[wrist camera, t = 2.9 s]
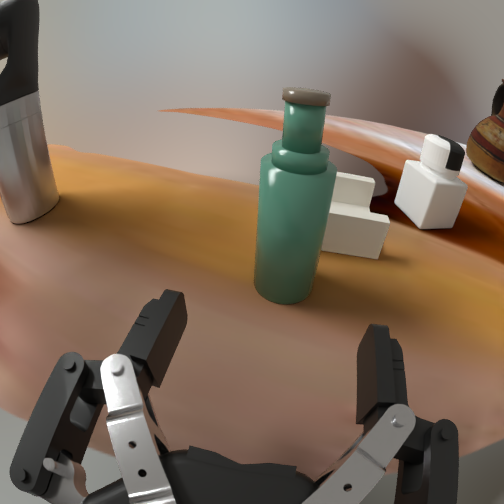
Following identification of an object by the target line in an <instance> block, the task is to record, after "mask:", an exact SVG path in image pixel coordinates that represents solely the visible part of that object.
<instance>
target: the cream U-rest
mask: <svg viewBox="0 0 504 504" xmlns="http://www.w3.org/2000/svg"><path fill="white" fill-rule="evenodd" d="M374 186H375V182H374V179H373V178H367V177H363V176H358V175H352V174H347V173H341V172H337V175H336V180H335V186H334V191H333V196H332V201H331V206H330V211H329V216H328V221H327V226H326V230H325V235H324V240H323V244H322V249H321V250H322V251H328V252H334V253H341V254H347V255H353V256H359V257H366V258H372V259H378V257H379V255H380V252H381V249H382V246H383V243H384V240H385V238H386V235H387V232H388V229H389V226H390V221H389V219H388V216H386V215H381V214H376V213H371V212H370V209H369V205H370V202H371V198H372V194H373V190H374Z"/></svg>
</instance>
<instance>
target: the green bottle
mask: <svg viewBox="0 0 504 504" xmlns="http://www.w3.org/2000/svg"><path fill="white" fill-rule="evenodd" d="M330 98H331V94H330V93H327V92H323V91H319V90H313V89H306V88H295V87H294V88H293V87H286V88H283V95H282V99H283V100H285V111H284V123H283V136H282V140H278V141H275V142H274V143H273V145H272V153H270V154H267V155H265V156H264V157H263V158H262V159H261V169H260V186H259V203H258V219H257V236H256V253H255V269H254V286H255V288H256V290H257V292H258V293H259V294H260V295H261V296H262V297H264V298H265V299H267V300H269V301H271V302H274V303H278V304H294V303H297V302H300V301H302V300H304V299H305V298H307V297H308V295H309V294H310V293H311V290H312V287H313V282H314V278H315V274H316V270H317V266H318V262H319V257H320V253H321V249H322V244H323V240H324V235H325V230H326V226H327V221H328V216H329V211H330V206H331V201H332V196H333V191H334V186H335V180H336V175H337V168H336V166H335V165H334V164H332V163H331V162H330V161H328V159H329V153H330V152H329V150H328V148H326V147H325V146H323V145H321V144H322V137H323V129H324V122H325V112H326V106H329V105H330Z"/></svg>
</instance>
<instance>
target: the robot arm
mask: <svg viewBox="0 0 504 504" xmlns="http://www.w3.org/2000/svg"><path fill="white" fill-rule="evenodd" d="M38 34H39V4H38V0H4V1H2V2H0V60H1V59H4V58H6V57H8V59H7V64H6V66H5V68H4V70H3V71H2V73H1V74H0V196H1V199H2V202H3V205H4V207H5V210H6V213H7V215H8V216H9V218H10V221H11V222H13V223H16V224H18V223H25V222H28V221H31V220H34V219H36V218H38V217H40V216H42V215H43V214H45V213H47V212H48V211H49V210H51V209H52V208H53V207H54V206H55V205H56V204H57V202H58V200H59V194H58V190H57V186H56V182H55V179H54V175H53V170H52V166H51V161H50V157H49V152H48V147H47V142H46V137H45V131H44V125H43V119H42V112H41V106H40V98H39V91H38V90H39V89H38ZM186 324H187V310H186V305H185V299H184V294H183V293H182V292H178V291H173V290H168V289H166V290H165V291H164V292H163V294H162V295H161V297H160V299H159V300H158V299H152V300H151V301H150V302H148V303H147V304H146V305H145V306H144V307H143V309H142V311H141V312H140V314H139V317H138V318H137V319H136V321H135V324H134V325H133V326H132V328H131V330H130V332H129V333H128V335H127V337H126V339H125V341H124V342H123V344H122V346H121V348H120V350H119V351H118V352H117V354H114V355H111V356H109V357H107V358H106V359H105V360H102V361H98V360H84V359H83V358H82V356H81V355H80V354H78V353H76V352H69V353H66V354H64V355H63V356H61V357H60V359H59V360H58V362H57V364H56V366H55V367H54V369H53V371H52V373H51V375H50V377H49V379H48V381H47V383H46V385H45V387H44V389H43V391H42V393H41V395H40V397H39V399H38V401H37V403H36V406H35V408H34V410H33V412H32V414H31V417H30V419H29V421H28V423H27V426H26V428H25V430H24V433H23V435H22V438H21V440H20V443H19V445H18V448H17V450H16V453H15V456H14V458H13V461H12V464H11V467H10V477H11V480H12V482H13V484H14V485H15V486H16V487H17V488H18V489H20V490H21V491H24V492H27V493H30V494H32V495H34V496H37V497H40V498H43V499H45V500H46V501H48V502H50V503H51V504H359V503H360V502H361V501H362V500H363V499H364V498H365V497H366V495H367V494H368V493H369V492H370V491H371V490H372V489H373V487H374V486H375V485H376V484H377V483H378V482H379V480H380V479H381V478H382V477H383V475H384V474H385V472H386V469H385V468H386V466H387V465H388V463H389V462H390V461H391V460H392V458H396V459H399V467H398V478H397V486H396V494H395V501H394V504H456V503H457V490H458V466H459V462H458V461H459V446H458V430H457V427H456V426H455V424H454V423H453V422H452V421H450V420H447V419H442V420H439V421H438V422H436V423H433V422H430V421H426V420H424V419H421V418H418V417H417V416H415V415H414V412H413V411H412V410H411V409H410V408H409V406H408V401H407V389H406V378H405V371H404V362H403V353H402V348H401V346H400V345H399V343H398V341H397V339H390V335H389V328H388V326H386V325H377V324H370V325H369V327H368V329H367V331H366V333H365V335H364V337H363V339H362V340H361V342H360V344H359V347H358V352H357V413H356V424H364V431H363V432H362V433H361V435H360V436H359V437H358V438H357V439H356V440H355V441H354V442H353V444H352V445H351V446H350V447H349V448H348V449H347V450H346V451H345V452H344V453H343V454H342V455H341V456H340V458H339V459H338V460H337V461H336V462H335V463H333V464H332V465H331V466H330V467H329V468H328V469H327V470H326V471H324V472H323V473H322V474H321V475H320V476H319V477H318V478H317V479H316V480H315V481H313V480H312V479H311V478H309V477H308V476H306V475H305V474H303V473H301V472H298V471H296V467H297V466H289V465H281V464H274V463H263V464H239V463H236V462H234V461H232V460H230V459H228V458H226V457H224V456H222V455H220V454H218V453H216V452H212V451H208V450H204V449H201V448H197V447H193V446H189V450H176V451H171V450H170V448H169V445H168V443H167V441H166V438H165V436H164V434H163V432H162V430H161V428H160V425H159V422H158V420H157V417H156V414H155V411H154V408H153V405H152V402H151V399H150V395H149V390H150V388H151V386H155V387H158V388H160V385H161V383H162V381H163V378H164V376H165V373H166V371H167V369H168V366H169V364H170V362H171V360H172V357H173V355H174V353H175V350H176V348H177V346H178V343H179V341H180V339H181V337H182V334H183V332H184V330H185V327H186ZM104 404H107V407H108V412H109V415H108V416H107V418H106V421H107V426H108V430H109V434H110V438H111V442H112V446H113V449H114V453H115V456H116V459H117V463H118V466H119V468H120V472H121V475H122V478H120V479H119V480H117V481H115V482H113V483H111V484H109V485H107V486H105V487H103V488H101V489H99V490H97V491H95V492H93V493H91V494H88V492H87V490H86V486H85V482H86V473H85V470H84V468H83V467H82V466H81V462H82V460H83V457H84V454H85V451H86V449H87V446H88V443H89V441H90V438H91V435H92V433H93V430H94V427H95V425H96V422H97V420H98V417H99V415H100V412H101V410H102V407H103V405H104Z"/></svg>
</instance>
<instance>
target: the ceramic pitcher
mask: <svg viewBox="0 0 504 504" xmlns="http://www.w3.org/2000/svg"><path fill="white" fill-rule="evenodd" d="M502 82H503V84H501V85H500V86H499V87H498V89H497V91H496V93H495V96H494V99H493V104H492V114H491V116H489V117H487V118H485V119H484V120H482V121H481V122H479V123H478V125H476V127H475V128H474V129H473V131H472V132H471V134H470V136H469V139H468V142H467V148H466V153H467V156H468V157H469V159H470V160H471V161H472V163H473V164H474V165H475V166H477V167H478V168H479V169H480V170H481V171H482V172H484V173H485V174H487V175H489V176H490V177H491V178H493V179H495V180H498V181H500V182H502V183H504V80H503V79H502Z"/></svg>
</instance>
